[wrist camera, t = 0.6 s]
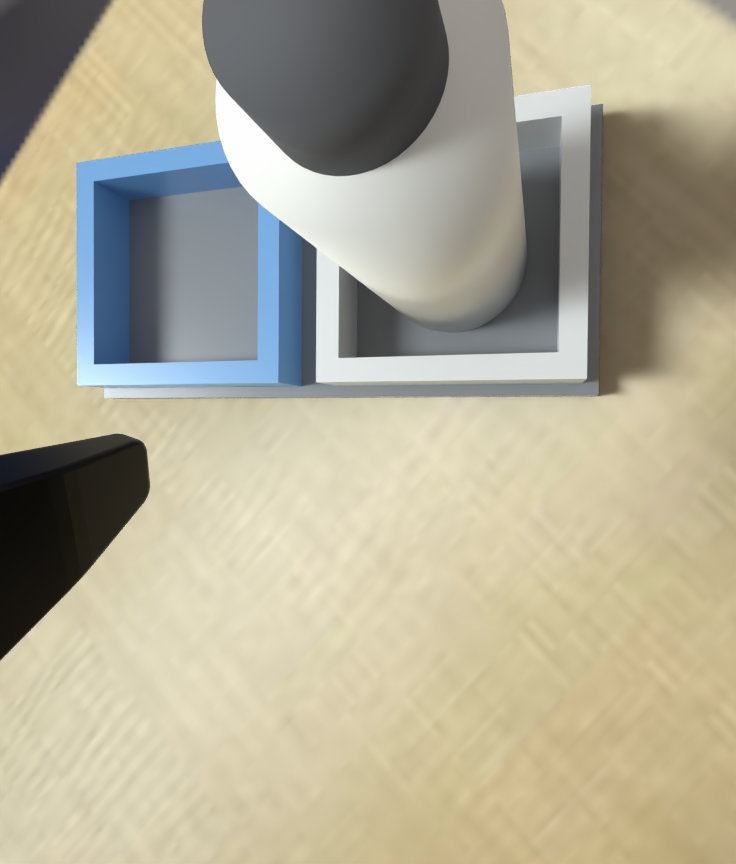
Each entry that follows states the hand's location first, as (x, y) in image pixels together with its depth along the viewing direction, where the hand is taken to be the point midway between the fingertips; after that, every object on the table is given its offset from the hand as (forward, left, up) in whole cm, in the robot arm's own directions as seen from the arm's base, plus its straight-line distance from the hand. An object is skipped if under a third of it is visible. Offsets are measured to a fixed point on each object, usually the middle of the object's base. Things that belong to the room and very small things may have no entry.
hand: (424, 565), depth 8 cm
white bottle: (+6, +4, -13) cm, 15 cm away
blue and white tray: (+4, +9, -13) cm, 17 cm away
